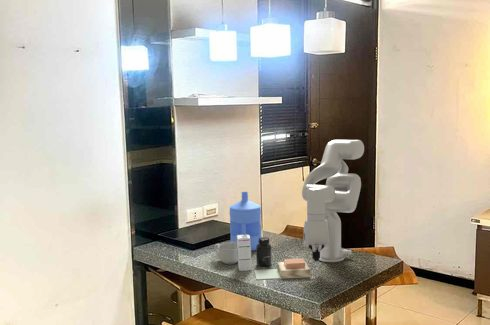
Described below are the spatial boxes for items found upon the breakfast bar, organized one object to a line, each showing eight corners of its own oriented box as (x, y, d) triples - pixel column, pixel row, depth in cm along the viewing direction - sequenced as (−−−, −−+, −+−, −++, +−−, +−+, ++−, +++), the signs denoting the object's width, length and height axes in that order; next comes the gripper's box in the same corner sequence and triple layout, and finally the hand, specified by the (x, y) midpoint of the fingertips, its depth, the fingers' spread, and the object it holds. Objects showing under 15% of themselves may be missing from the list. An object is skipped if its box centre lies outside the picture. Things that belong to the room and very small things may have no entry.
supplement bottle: (267, 268, 216) (266, 241, 214) (253, 265, 219) (253, 239, 218) (274, 263, 221) (274, 237, 220) (261, 261, 225) (260, 235, 224)
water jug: (233, 242, 256) (231, 189, 253) (263, 243, 254) (262, 189, 251) (228, 251, 241) (226, 195, 238) (260, 252, 239) (258, 195, 236)
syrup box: (252, 270, 213) (251, 237, 211) (238, 271, 213) (237, 238, 211) (250, 266, 219) (249, 234, 217) (237, 266, 218) (236, 234, 217)
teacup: (246, 261, 225) (246, 244, 224) (230, 267, 218) (229, 250, 217) (225, 255, 235) (224, 239, 234) (208, 261, 227) (208, 244, 226)
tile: (302, 262, 211) (302, 258, 211) (305, 267, 205) (305, 262, 205) (284, 263, 211) (284, 259, 210) (286, 268, 205) (286, 263, 204)
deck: (305, 267, 214) (304, 260, 214) (310, 276, 203) (310, 269, 203) (277, 268, 213) (277, 262, 213) (281, 277, 202) (281, 270, 202)
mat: (305, 268, 214) (305, 267, 214) (310, 277, 203) (310, 276, 203) (254, 270, 213) (254, 270, 212) (256, 279, 202) (256, 279, 202)
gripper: (331, 215, 210) (331, 257, 212) (296, 215, 209) (297, 258, 211) (336, 218, 203) (335, 262, 204) (300, 219, 202) (300, 263, 203)
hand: (316, 260), depth 207 cm, fingers closed
